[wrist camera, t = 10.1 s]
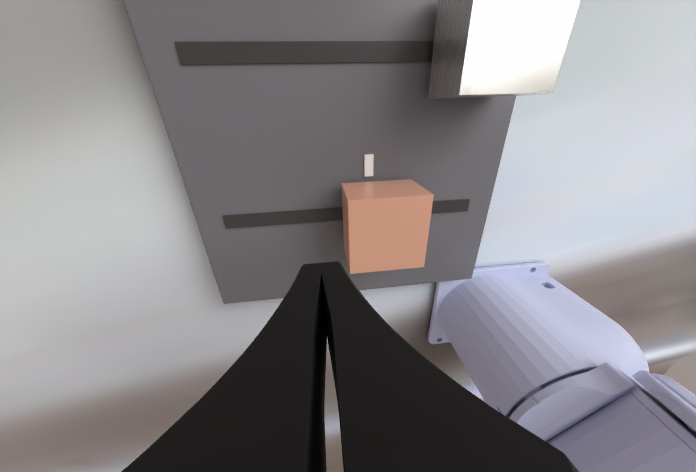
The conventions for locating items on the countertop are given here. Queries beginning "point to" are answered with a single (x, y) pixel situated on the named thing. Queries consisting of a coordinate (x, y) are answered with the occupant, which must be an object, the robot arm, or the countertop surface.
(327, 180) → the fader panel
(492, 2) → the block
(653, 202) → the countertop surface
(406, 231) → the block
